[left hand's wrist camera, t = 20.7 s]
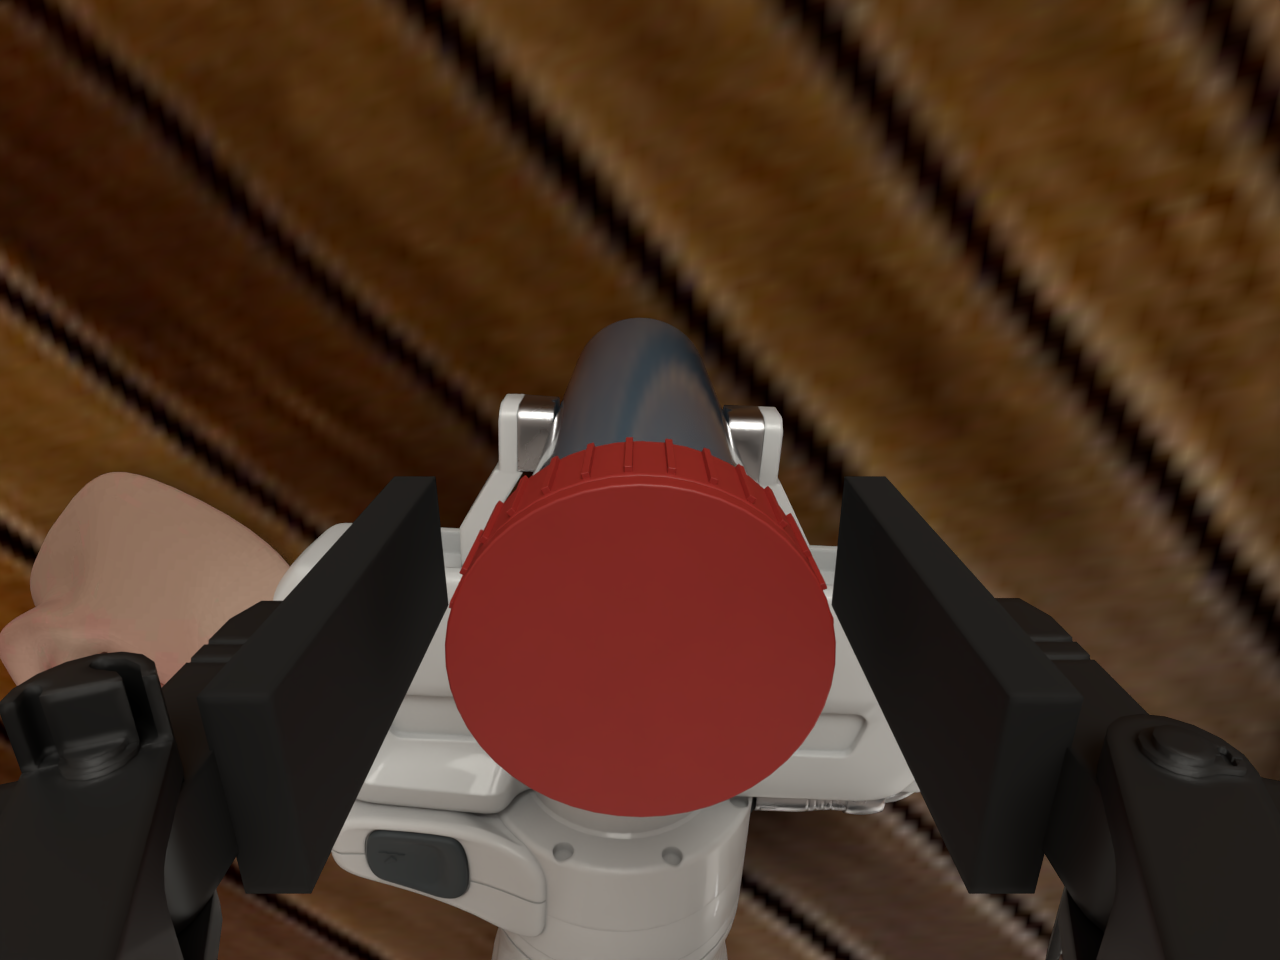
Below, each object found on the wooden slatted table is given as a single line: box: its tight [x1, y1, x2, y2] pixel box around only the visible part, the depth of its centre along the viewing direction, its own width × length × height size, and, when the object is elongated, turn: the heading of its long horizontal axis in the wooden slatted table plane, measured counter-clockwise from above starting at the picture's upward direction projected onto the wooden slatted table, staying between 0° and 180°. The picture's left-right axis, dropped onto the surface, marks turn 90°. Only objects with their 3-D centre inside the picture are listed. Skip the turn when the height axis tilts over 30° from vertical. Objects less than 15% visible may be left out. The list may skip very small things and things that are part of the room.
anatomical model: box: [0, 472, 290, 687], centre depth 28 cm, size 13×4×12 cm
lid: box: [445, 437, 836, 817], centre depth 11 cm, size 6×6×2 cm
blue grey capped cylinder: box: [532, 318, 748, 476], centre depth 19 cm, size 5×5×16 cm
